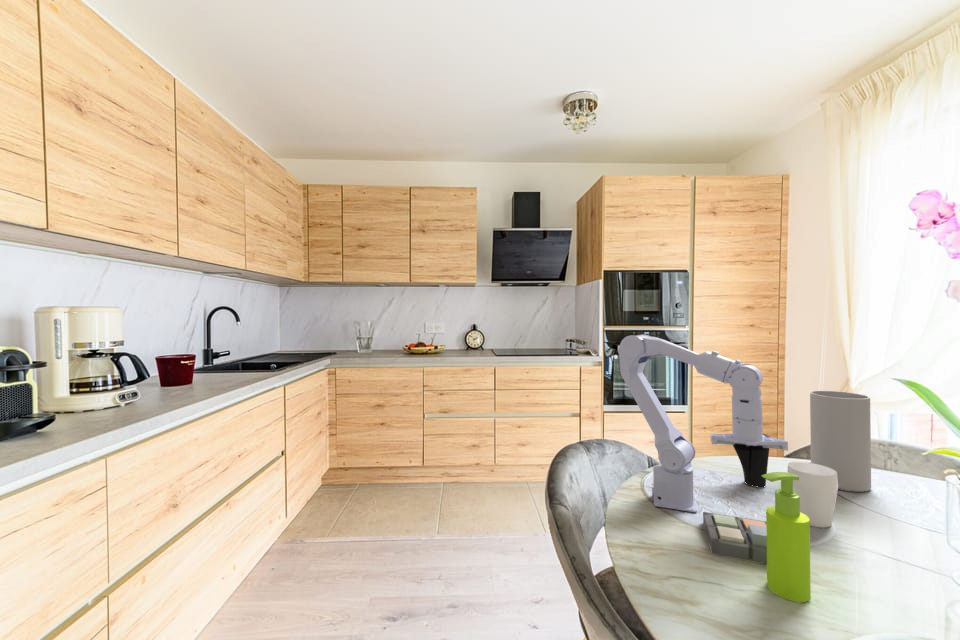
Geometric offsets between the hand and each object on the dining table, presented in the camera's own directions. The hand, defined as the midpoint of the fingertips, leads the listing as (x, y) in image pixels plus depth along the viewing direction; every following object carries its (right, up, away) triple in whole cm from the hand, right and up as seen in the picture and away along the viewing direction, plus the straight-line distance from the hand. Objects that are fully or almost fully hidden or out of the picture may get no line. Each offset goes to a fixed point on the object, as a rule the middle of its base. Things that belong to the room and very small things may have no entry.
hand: (748, 478), depth 90 cm
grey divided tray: (-6, -11, -8) cm, 14 cm away
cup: (+16, -11, +1) cm, 19 cm away
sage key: (-8, -10, -4) cm, 13 cm away
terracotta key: (-3, -10, -6) cm, 12 cm away
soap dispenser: (-9, -11, -22) cm, 26 cm away
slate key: (-5, -8, -11) cm, 15 cm away
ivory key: (-10, -10, -9) cm, 17 cm away
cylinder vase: (+40, -10, +21) cm, 47 cm away
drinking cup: (+16, -11, +22) cm, 29 cm away
